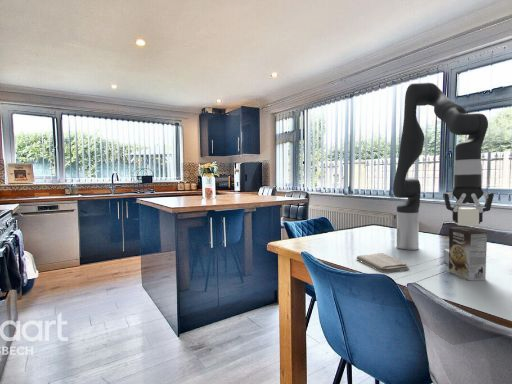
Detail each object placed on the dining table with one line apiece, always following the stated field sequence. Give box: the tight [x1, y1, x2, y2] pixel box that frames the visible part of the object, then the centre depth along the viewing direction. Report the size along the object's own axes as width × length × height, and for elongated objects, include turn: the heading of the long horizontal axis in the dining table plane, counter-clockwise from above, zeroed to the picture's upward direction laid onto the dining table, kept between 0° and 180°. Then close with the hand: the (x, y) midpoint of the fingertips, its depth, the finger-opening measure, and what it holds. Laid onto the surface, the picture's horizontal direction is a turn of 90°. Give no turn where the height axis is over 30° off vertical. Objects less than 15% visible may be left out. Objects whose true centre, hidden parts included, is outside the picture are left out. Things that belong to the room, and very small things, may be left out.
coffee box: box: [448, 226, 488, 281], centre depth 97 cm, size 9×6×16 cm
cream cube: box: [456, 207, 480, 227], centre depth 97 cm, size 6×6×6 cm
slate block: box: [443, 248, 449, 265], centre depth 111 cm, size 5×5×5 cm
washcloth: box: [356, 252, 410, 273], centre depth 112 cm, size 12×18×3 cm, turn 13°
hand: (467, 222), depth 97 cm, fingers closed on cream cube, 5 cm apart
